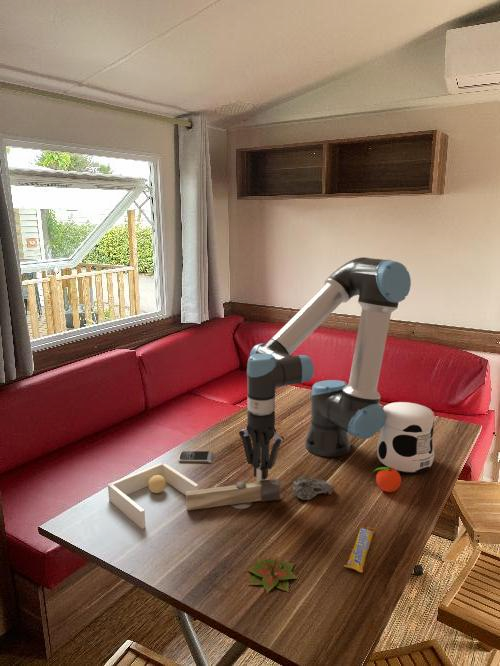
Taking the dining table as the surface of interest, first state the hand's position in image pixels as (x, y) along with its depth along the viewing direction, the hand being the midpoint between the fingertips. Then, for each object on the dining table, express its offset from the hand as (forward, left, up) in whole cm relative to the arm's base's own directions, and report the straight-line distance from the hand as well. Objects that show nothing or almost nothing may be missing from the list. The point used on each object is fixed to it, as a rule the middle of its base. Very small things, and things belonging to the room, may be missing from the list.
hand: (260, 487), depth 139 cm
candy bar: (-29, +16, -3) cm, 34 cm away
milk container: (-39, -29, -2) cm, 49 cm away
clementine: (-34, -12, -2) cm, 36 cm away
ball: (+27, +8, +2) cm, 28 cm away
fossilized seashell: (-14, -4, -2) cm, 15 cm away
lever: (+6, +7, -1) cm, 9 cm away
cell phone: (+26, -14, -3) cm, 30 cm away
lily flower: (-11, +30, -3) cm, 32 cm away
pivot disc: (+4, +6, -2) cm, 7 cm away
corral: (+27, +12, -2) cm, 30 cm away
